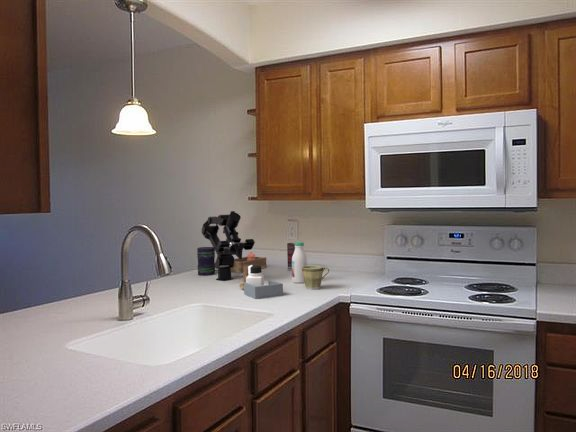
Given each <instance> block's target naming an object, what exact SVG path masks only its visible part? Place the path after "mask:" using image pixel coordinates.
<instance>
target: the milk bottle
mask: <svg viewBox="0 0 576 432" xmlns="http://www.w3.org/2000/svg"><path fill="white" fill-rule="evenodd" d="M294 243H295V251H294V254H293V256H292V270H291V281H292V283H294V284H305V281H304V276H303V272H302V267H303V266H308V258H307V255H306V253H305V249H304V246H305V243H304V242H303V241H296V242H295V241H294Z"/></svg>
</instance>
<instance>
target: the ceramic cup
mask: <svg viewBox="0 0 576 432" xmlns="http://www.w3.org/2000/svg"><path fill="white" fill-rule="evenodd" d="M325 270H327V272H326V273H325V274H324V275H323V272H324V271H325ZM302 272H303V276H304V281H305V283H304V285H305V289H306V290H310V291H311V290H312V291H314V290H319V289H321V285H322V280H323V279H324V278H325V277H326V276H327V275H328V274H329V272H330V268H328V267H324V266H322V265H307V266H303V267H302Z"/></svg>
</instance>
